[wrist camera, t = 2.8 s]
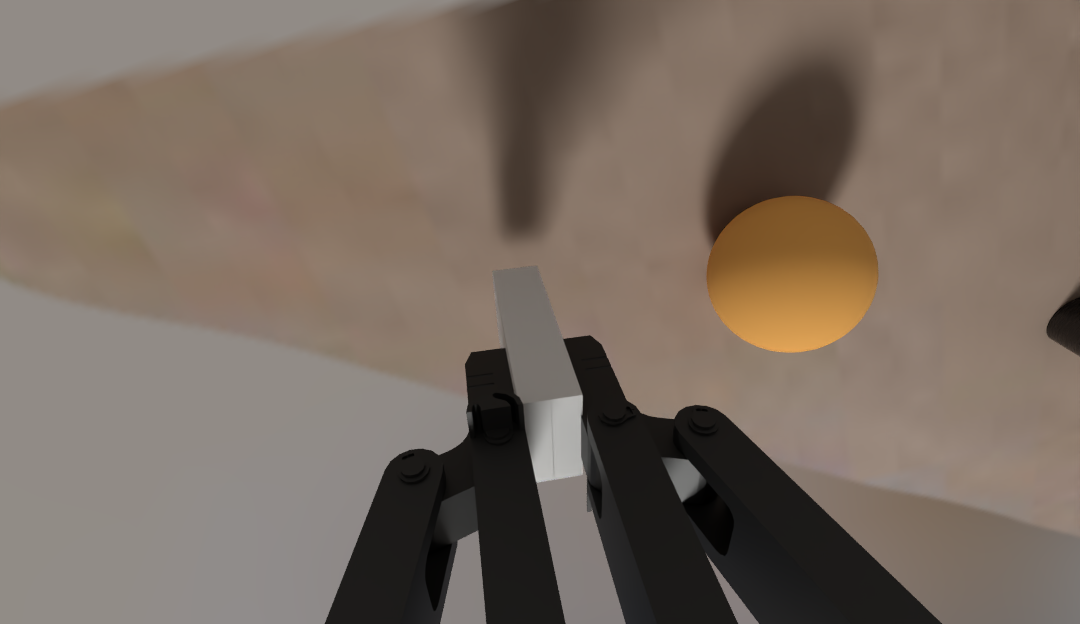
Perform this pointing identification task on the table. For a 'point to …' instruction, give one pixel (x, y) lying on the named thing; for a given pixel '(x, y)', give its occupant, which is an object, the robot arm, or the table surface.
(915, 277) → the table surface
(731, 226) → the ball
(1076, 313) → the post
